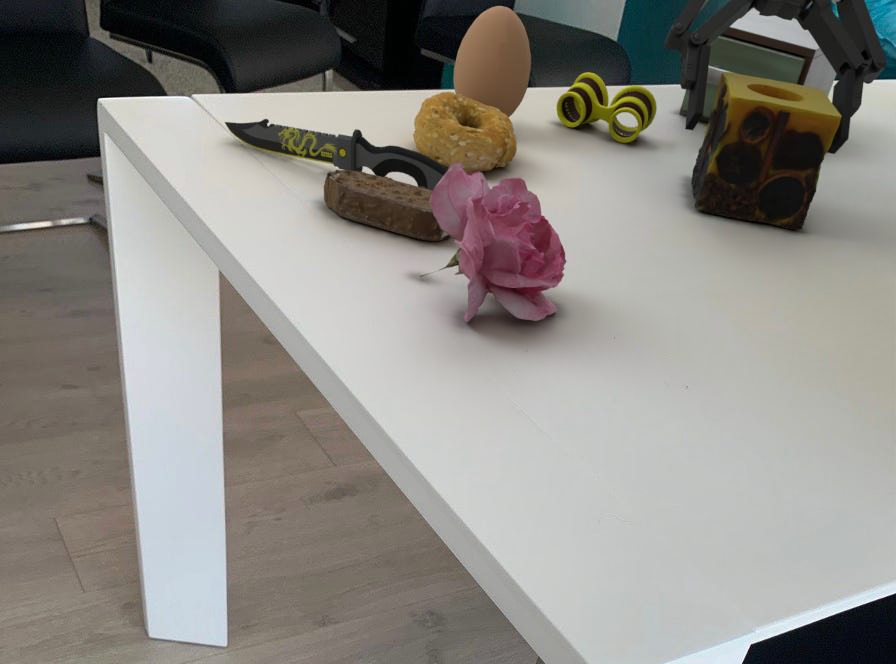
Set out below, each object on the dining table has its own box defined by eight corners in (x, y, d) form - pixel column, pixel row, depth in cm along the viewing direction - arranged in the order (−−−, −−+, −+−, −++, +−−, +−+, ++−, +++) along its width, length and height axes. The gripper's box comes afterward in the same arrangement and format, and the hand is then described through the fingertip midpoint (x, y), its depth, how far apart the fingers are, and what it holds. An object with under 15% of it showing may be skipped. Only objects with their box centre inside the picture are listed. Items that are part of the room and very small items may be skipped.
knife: (222, 167, 93) (218, 107, 90) (232, 164, 94) (228, 104, 91) (452, 214, 85) (456, 149, 82) (460, 209, 86) (465, 145, 83)
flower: (559, 345, 77) (621, 274, 68) (439, 365, 74) (487, 292, 65) (514, 210, 79) (568, 122, 69) (394, 223, 76) (435, 133, 66)
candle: (801, 233, 94) (846, 118, 88) (693, 212, 95) (730, 95, 88) (788, 197, 102) (828, 89, 95) (688, 178, 102) (721, 68, 96)
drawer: (763, 145, 112) (790, 65, 107) (666, 115, 116) (688, 37, 110) (810, 116, 125) (837, 43, 120) (722, 90, 129) (743, 19, 124)
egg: (518, 121, 109) (540, 5, 102) (519, 142, 103) (542, 21, 96) (448, 109, 109) (465, -8, 102) (445, 130, 103) (463, 7, 96)
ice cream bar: (336, 193, 86) (339, 159, 84) (505, 239, 83) (512, 205, 81) (309, 211, 82) (311, 176, 80) (485, 261, 79) (492, 226, 77)
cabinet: (782, 145, 117) (816, 49, 110) (678, 113, 121) (705, 20, 114) (818, 121, 127) (851, 33, 121) (722, 93, 132) (749, 6, 125)
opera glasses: (550, 130, 111) (557, 82, 107) (570, 111, 114) (577, 64, 110) (633, 155, 108) (644, 107, 104) (651, 135, 111) (662, 88, 107)
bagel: (411, 169, 93) (418, 113, 90) (410, 132, 101) (417, 80, 98) (518, 184, 94) (529, 129, 90) (509, 146, 102) (519, 95, 99)
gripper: (897, -33, 100) (875, 175, 99) (648, -77, 99) (622, 133, 97) (941, -91, 93) (918, 134, 91) (672, -140, 91) (645, 88, 90)
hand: (765, 134), depth 94 cm, fingers open, 13 cm apart
